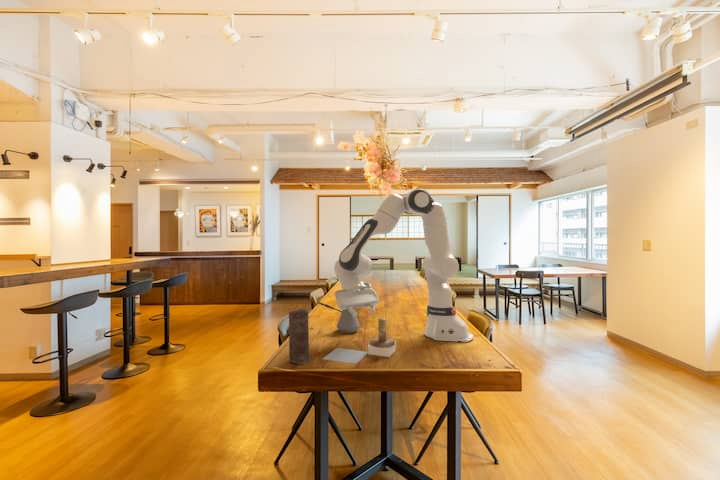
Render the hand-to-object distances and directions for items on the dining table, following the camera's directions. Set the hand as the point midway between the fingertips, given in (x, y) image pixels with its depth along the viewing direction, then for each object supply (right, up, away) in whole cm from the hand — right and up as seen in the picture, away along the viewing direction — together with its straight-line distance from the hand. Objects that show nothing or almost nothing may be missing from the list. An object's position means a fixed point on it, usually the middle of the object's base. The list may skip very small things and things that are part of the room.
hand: (364, 314), depth 149 cm
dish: (+7, -14, -10) cm, 18 cm away
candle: (-25, -14, -20) cm, 35 cm away
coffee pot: (-13, -13, +22) cm, 29 cm away
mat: (-8, -14, -14) cm, 21 cm away
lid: (+7, -10, -10) cm, 16 cm away
